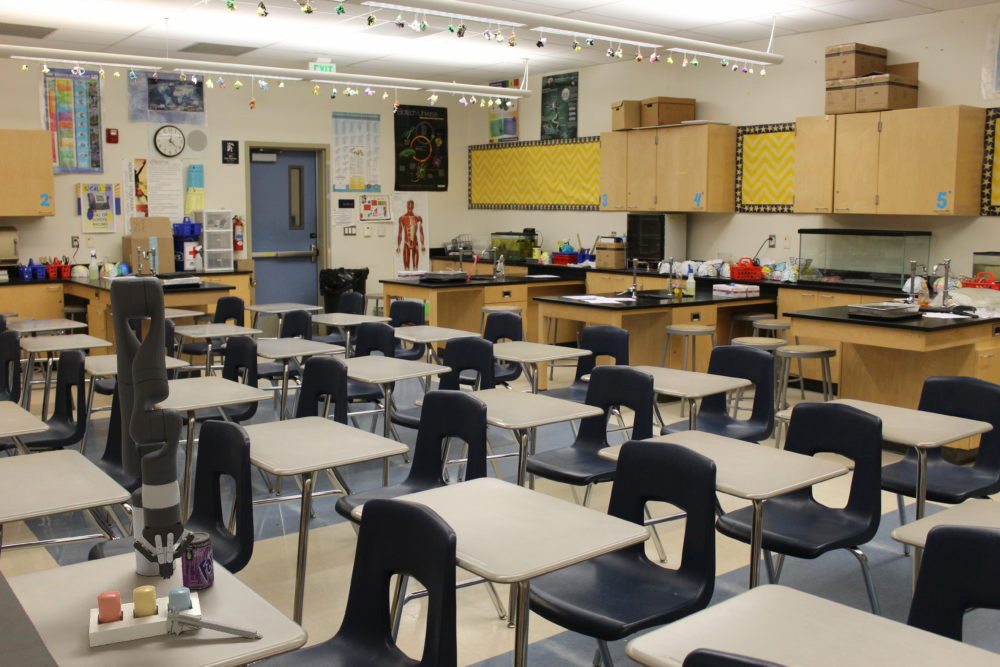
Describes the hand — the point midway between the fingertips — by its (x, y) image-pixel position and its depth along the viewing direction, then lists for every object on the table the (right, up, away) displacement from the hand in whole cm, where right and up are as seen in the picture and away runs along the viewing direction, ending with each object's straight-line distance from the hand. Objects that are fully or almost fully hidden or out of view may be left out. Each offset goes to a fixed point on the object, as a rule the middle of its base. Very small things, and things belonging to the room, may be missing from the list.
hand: (166, 577), depth 200 cm
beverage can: (+1, -7, +20) cm, 21 cm away
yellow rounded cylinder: (-4, -8, -1) cm, 9 cm away
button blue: (+2, -9, +2) cm, 10 cm away
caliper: (+12, -11, -5) cm, 17 cm away
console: (-4, -10, 0) cm, 11 cm away
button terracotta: (-11, -9, -3) cm, 14 cm away
